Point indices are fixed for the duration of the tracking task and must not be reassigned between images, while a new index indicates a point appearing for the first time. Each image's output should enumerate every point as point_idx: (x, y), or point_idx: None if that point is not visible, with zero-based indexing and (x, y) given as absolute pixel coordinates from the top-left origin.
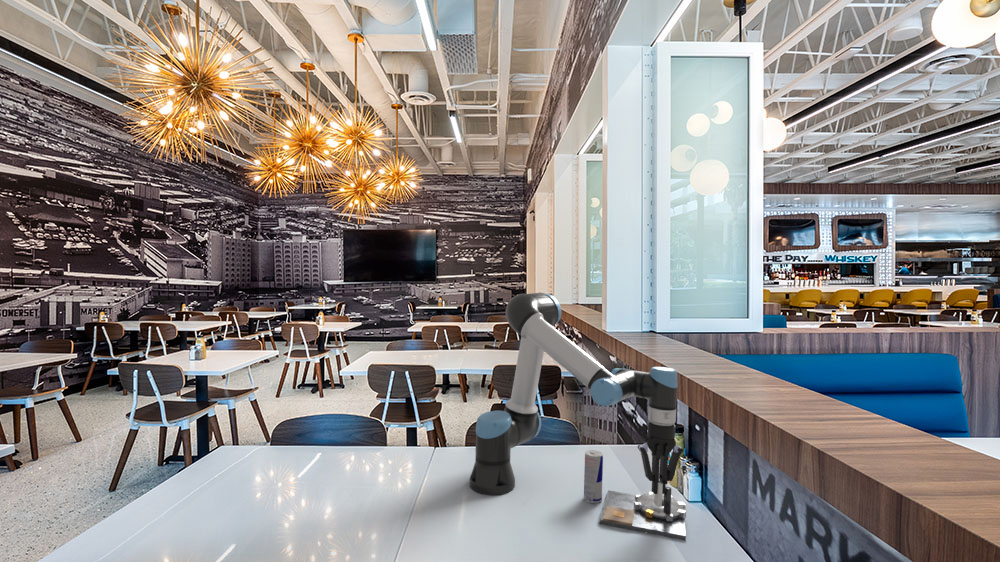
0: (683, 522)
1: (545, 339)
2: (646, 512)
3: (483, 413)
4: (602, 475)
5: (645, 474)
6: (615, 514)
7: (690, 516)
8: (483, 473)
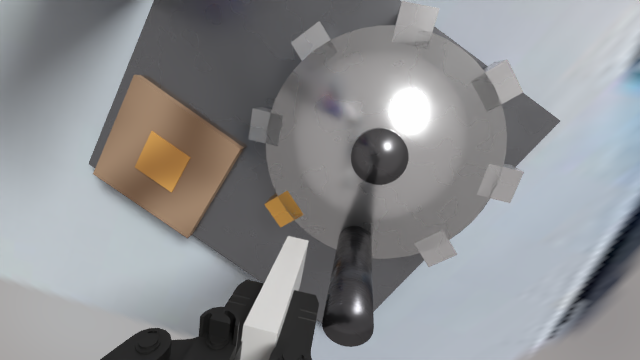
0: (404, 270)
1: None
2: (268, 205)
3: None
4: None
5: (114, 356)
6: (146, 161)
7: (500, 204)
8: None
